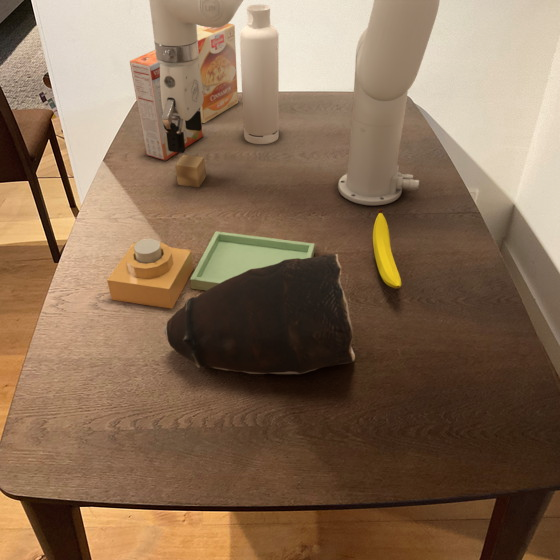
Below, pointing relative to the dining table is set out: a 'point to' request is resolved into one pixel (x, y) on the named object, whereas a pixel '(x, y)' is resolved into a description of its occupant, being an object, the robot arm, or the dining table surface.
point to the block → (190, 170)
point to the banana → (384, 252)
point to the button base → (151, 278)
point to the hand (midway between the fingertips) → (185, 140)
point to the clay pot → (268, 320)
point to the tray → (243, 256)
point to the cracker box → (154, 107)
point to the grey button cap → (148, 251)
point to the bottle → (260, 76)
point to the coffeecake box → (217, 69)
